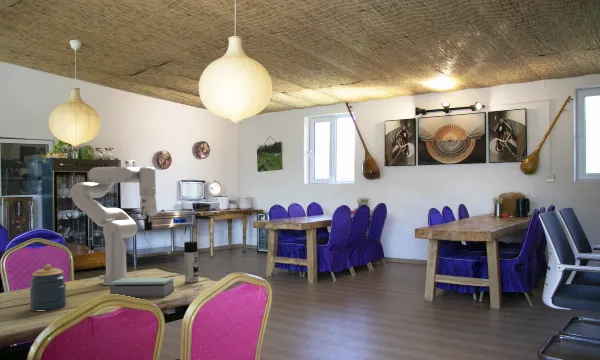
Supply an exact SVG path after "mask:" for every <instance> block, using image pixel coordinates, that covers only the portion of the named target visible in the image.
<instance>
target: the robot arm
mask: <svg viewBox="0 0 600 360" xmlns="http://www.w3.org/2000/svg"><path fill="white" fill-rule="evenodd" d="M87 177H88V180H90V181H84V182H83V181H81V182H76V183H75V184H74V185H73V186H72V187H71V189H70V190H71V191H70V195H71V199H72V202H73V203H74V205H75V206H76V207H77V208H78V209H80V210H81V211H82V212H84V213H85V214H86V216H87V217H89V219H91V221H92V222H93V223H95V224H96V225H97V226H98V227H103V230H102V232H103V237H104V243H105V245H104V246H105V274H104V275H103V274H102V275H101V274H100V275H99V276H98V279H99V280H103V281H102V284H103V285H104V286H111V285H110V282H113V281H116V280H119V279H126V278H127V248H126V247H127V246H126V242H124V240H123V239H128V238H132V237H134V236H136V234H137V232H138V225H137V223H136V221H135V220H134V219H133V218H132V217H131V216H130V215H128V214H127V212H125V211H124V210H123V209H121V208H118V207H105V206H103V204H101V202H99V201H98V200H96V199H97V198H98V199H99V198H102V197H104V196H105V195H106V194H107V193H108V191H109V190H110V189H111V188H112V186H114V184H118V183H123V184H124V183H127V184H128V183H133V184H138V183H139V189H138V190H139V196H140V199H139V201H140V202H139V215H140V216H141V217H142V219H143V222H144V223H143V225H144V226H143V227H144V231H146V232H147V231H152V230H153V218H154V216H157V211H158V209H157V199H156V195H157V194H156V189H157V187H156V183H157V182H156V169H155V168H154V167H153V166H151V167H150V166H145V167H144V166H143V167H142V166H141V167H134V166H133V167H132V166H118V167H117V166H97V167H93V168H91V169H90V170H89V171H88V175H87Z"/></svg>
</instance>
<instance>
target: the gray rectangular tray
mask: <svg viewBox="0 0 600 360" xmlns="http://www.w3.org/2000/svg"><path fill="white" fill-rule="evenodd" d="M109 289H110V290H109V295H110V294H119V295H125V296H131V297H137V298H136V299H138V298H140V299H142V298H144V299H146V297H147V298H148V299H150V298H149V297H157V299H158V297H160V298H163V299H164V298H167V297H168V296H169V295H170V294H172V293H173V292H174V280H173V281H170V282H168V283H166V284H126V285H109ZM160 298H159V299H160Z"/></svg>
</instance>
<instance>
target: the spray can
mask: <svg viewBox="0 0 600 360" xmlns="http://www.w3.org/2000/svg"><path fill="white" fill-rule="evenodd" d="M183 244H184V246H183V249H184V250H183V252H184V253H183V254H184V279H185V280H184V281H185V283H187V282H188V283H189V284H190V283H192V284H193V283H198V282H199V278H200V276H199V251H198V250H199V249H198V245H199V244H198V241H193V240H191V241H184V242H183Z"/></svg>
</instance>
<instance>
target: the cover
mask: <svg viewBox="0 0 600 360" xmlns="http://www.w3.org/2000/svg"><path fill="white" fill-rule="evenodd" d="M170 281H173V282H174V277H149V278H148V277H145V278H144V277H142V278H141V277H139V278H136V277H135V278H134V277H133V278H132V277H130V278H127V277H126V279H119V280H116V281H113V282H110V285H109V286H112V285H126V284H166V283H168V282H170Z"/></svg>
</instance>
